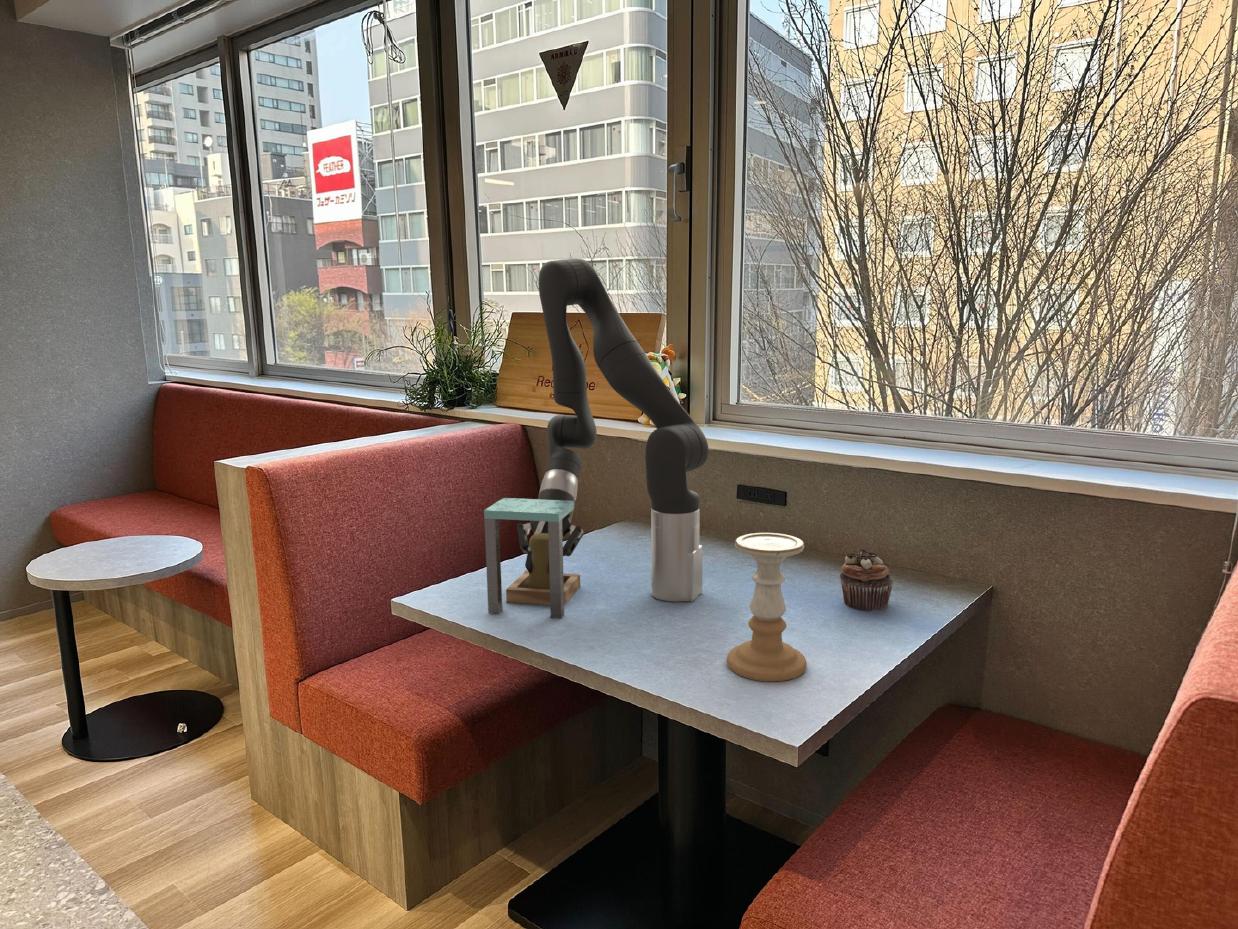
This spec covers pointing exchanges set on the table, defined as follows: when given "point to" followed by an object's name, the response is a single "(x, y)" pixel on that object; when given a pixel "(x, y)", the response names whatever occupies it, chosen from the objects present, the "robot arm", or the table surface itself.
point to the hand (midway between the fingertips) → (540, 572)
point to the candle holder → (767, 612)
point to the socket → (539, 590)
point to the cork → (539, 562)
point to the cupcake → (865, 582)
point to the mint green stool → (554, 515)
